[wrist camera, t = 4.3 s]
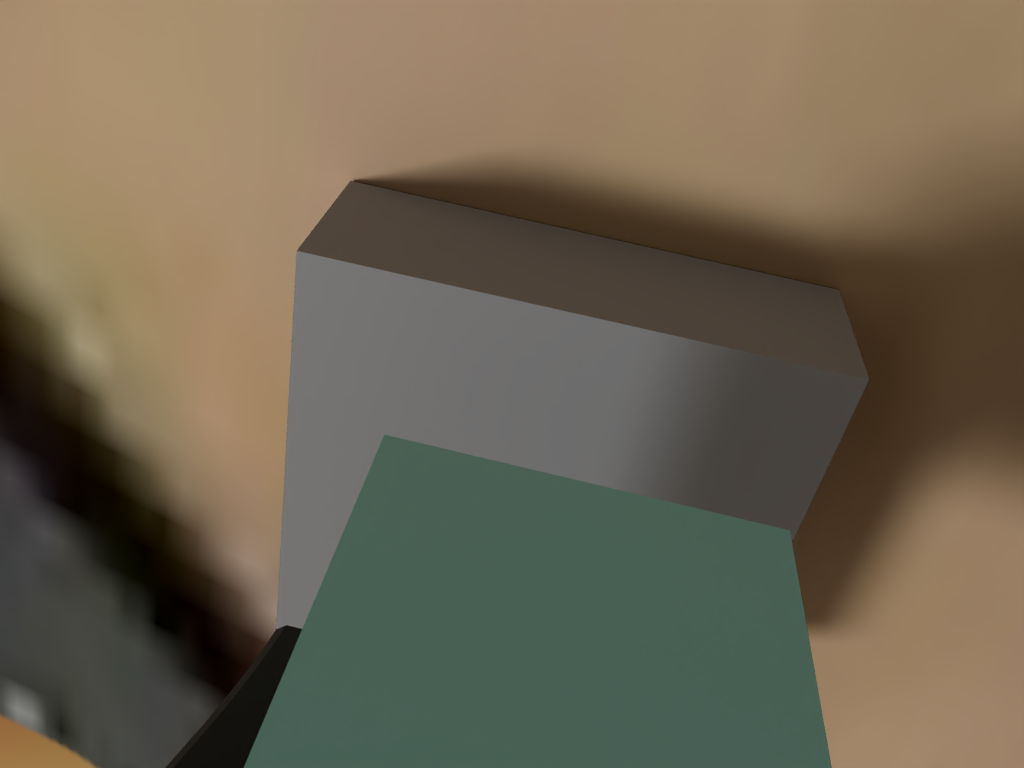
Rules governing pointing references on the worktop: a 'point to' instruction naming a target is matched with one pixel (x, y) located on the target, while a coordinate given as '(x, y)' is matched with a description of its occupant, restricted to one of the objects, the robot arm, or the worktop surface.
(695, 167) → the worktop surface
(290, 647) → the robot arm
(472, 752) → the teal cube
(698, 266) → the base slab
